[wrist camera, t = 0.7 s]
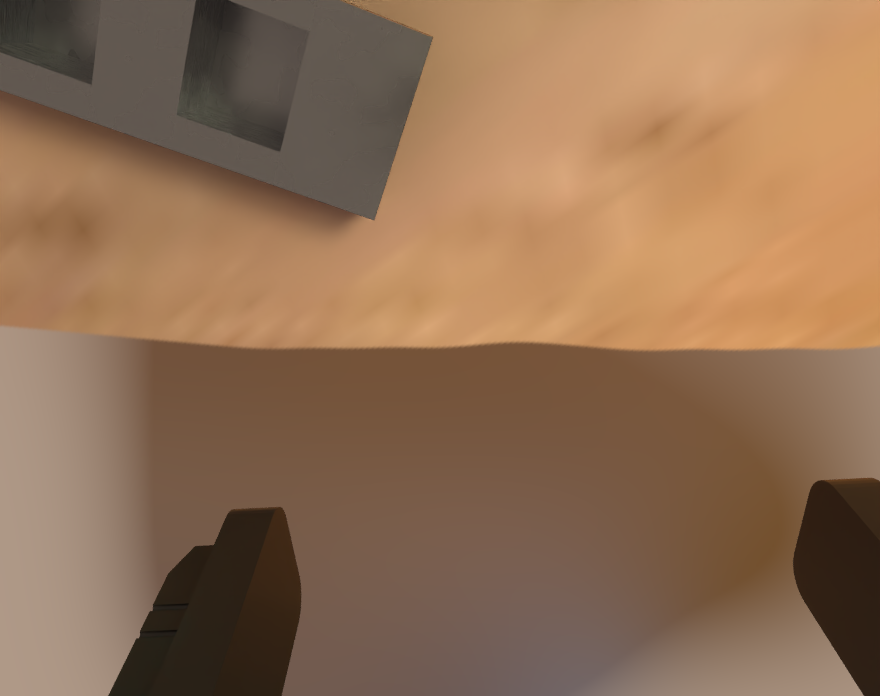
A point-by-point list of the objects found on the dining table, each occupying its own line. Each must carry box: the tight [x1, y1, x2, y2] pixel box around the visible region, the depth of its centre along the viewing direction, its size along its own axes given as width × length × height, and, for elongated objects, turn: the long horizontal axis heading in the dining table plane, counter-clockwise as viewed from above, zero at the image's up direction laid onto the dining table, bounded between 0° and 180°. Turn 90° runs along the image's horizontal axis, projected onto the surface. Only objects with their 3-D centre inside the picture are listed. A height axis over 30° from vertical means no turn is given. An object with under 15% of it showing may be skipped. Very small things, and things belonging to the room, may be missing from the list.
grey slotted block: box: [0, 0, 433, 220], centre depth 28 cm, size 8×22×4 cm, turn 70°
